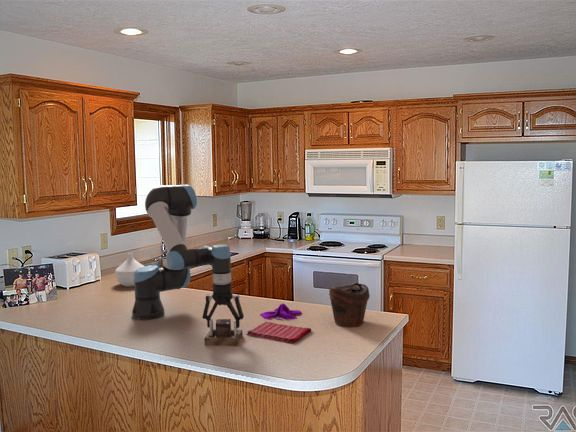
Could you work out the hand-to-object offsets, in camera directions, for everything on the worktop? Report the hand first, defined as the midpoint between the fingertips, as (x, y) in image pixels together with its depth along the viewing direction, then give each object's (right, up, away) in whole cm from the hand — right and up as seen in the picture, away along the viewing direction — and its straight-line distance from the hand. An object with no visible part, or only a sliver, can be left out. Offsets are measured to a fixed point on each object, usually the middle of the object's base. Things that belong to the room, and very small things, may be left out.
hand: (223, 335), depth 223 cm
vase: (-67, +8, +97) cm, 118 cm away
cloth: (+25, +1, +33) cm, 41 cm away
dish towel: (+23, -2, +8) cm, 25 cm away
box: (0, -2, 0) cm, 2 cm away
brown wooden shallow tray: (0, -2, 0) cm, 2 cm away
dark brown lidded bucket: (+55, +1, +21) cm, 58 cm away
